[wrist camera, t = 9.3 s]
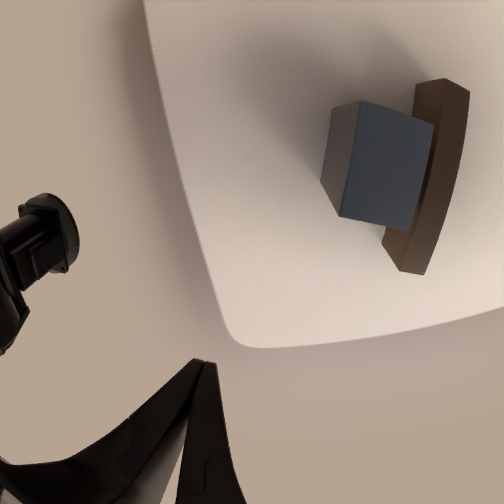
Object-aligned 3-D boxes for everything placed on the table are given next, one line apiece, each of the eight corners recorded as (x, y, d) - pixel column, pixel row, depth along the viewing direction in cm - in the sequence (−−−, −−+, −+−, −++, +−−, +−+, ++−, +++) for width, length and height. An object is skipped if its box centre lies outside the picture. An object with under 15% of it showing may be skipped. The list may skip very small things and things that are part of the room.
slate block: (336, 181, 19) (263, 187, 14) (348, 114, 16) (276, 91, 12) (428, 217, 14) (394, 241, 10) (446, 140, 12) (424, 113, 7)
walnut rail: (381, 244, 19) (398, 271, 15) (415, 83, 13) (444, 77, 10) (403, 248, 19) (424, 275, 15) (439, 93, 13) (470, 91, 10)
